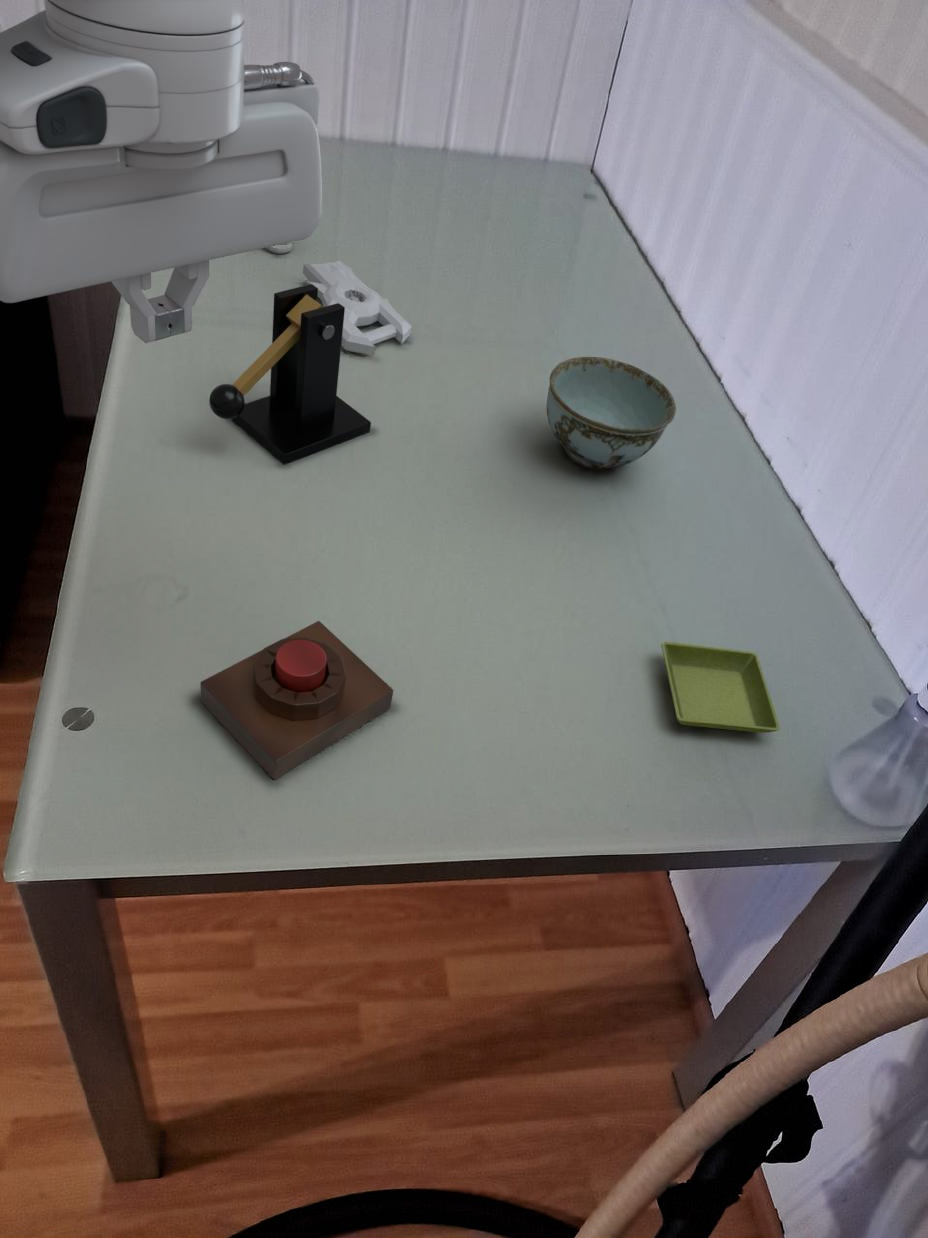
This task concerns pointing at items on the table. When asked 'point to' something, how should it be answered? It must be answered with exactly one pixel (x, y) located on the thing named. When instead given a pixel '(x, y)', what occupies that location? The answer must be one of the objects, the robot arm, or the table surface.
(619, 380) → the bowl
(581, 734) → the table surface
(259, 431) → the bracket
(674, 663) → the green square tray
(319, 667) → the button
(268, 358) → the lever
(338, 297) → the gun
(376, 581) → the table surface
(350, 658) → the button block
